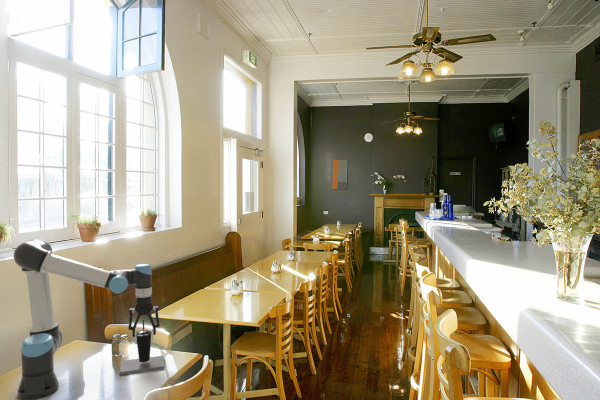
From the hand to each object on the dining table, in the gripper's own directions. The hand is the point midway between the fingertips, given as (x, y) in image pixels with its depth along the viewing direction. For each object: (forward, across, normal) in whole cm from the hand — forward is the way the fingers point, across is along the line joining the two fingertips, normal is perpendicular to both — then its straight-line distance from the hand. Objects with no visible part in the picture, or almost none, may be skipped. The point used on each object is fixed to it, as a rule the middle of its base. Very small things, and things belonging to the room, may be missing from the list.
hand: (144, 342), depth 210 cm
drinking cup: (+9, 0, 0) cm, 9 cm away
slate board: (+12, -1, 0) cm, 12 cm away
